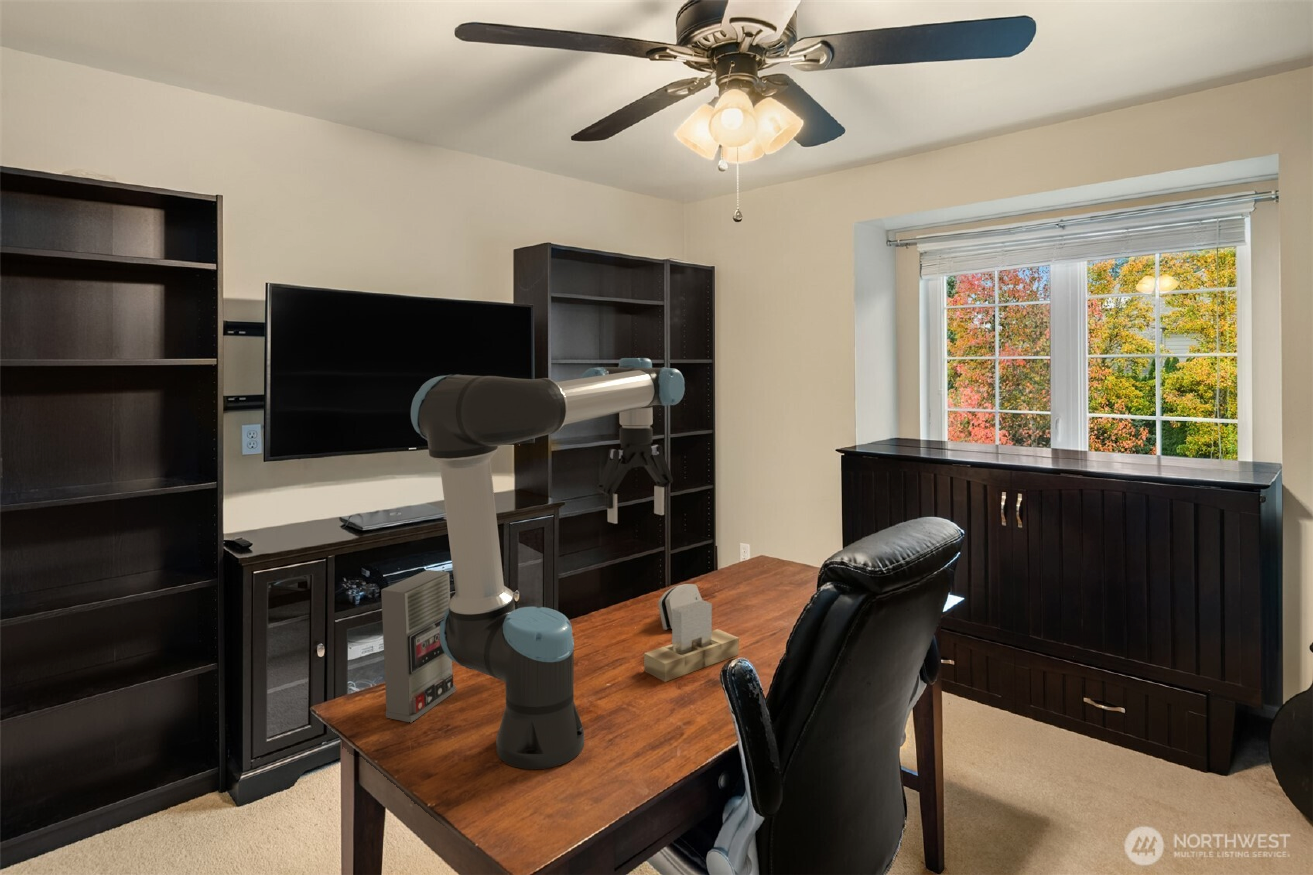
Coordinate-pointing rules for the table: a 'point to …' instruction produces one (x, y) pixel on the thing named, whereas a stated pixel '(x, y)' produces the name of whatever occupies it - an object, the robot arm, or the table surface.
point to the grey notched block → (691, 626)
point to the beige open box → (690, 657)
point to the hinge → (676, 601)
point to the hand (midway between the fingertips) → (636, 518)
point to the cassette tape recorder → (415, 645)
